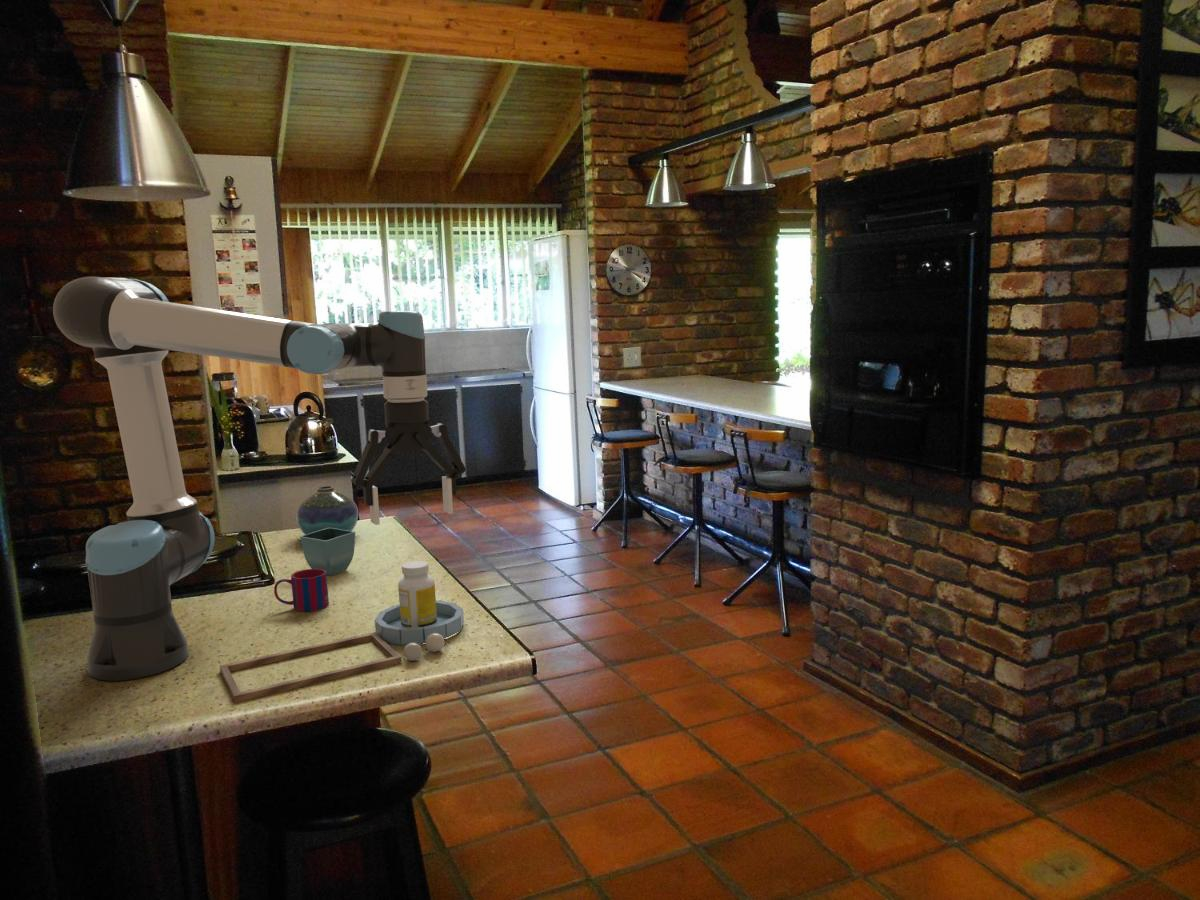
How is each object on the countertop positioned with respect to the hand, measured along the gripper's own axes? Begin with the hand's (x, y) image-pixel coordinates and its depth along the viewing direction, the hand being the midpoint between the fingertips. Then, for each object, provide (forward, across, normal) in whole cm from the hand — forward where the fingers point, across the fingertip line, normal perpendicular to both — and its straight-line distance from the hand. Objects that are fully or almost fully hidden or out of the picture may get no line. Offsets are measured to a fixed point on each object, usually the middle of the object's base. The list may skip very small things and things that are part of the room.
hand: (412, 517), depth 158 cm
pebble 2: (+21, -1, -12) cm, 24 cm away
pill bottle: (+20, 0, 0) cm, 20 cm away
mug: (+22, -15, +26) cm, 37 cm away
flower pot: (+22, -4, +47) cm, 52 cm away
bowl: (+21, 0, 0) cm, 21 cm away
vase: (+22, +4, +79) cm, 82 cm away
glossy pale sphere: (+21, -6, -13) cm, 25 cm away
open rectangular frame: (+21, -21, -6) cm, 30 cm away
